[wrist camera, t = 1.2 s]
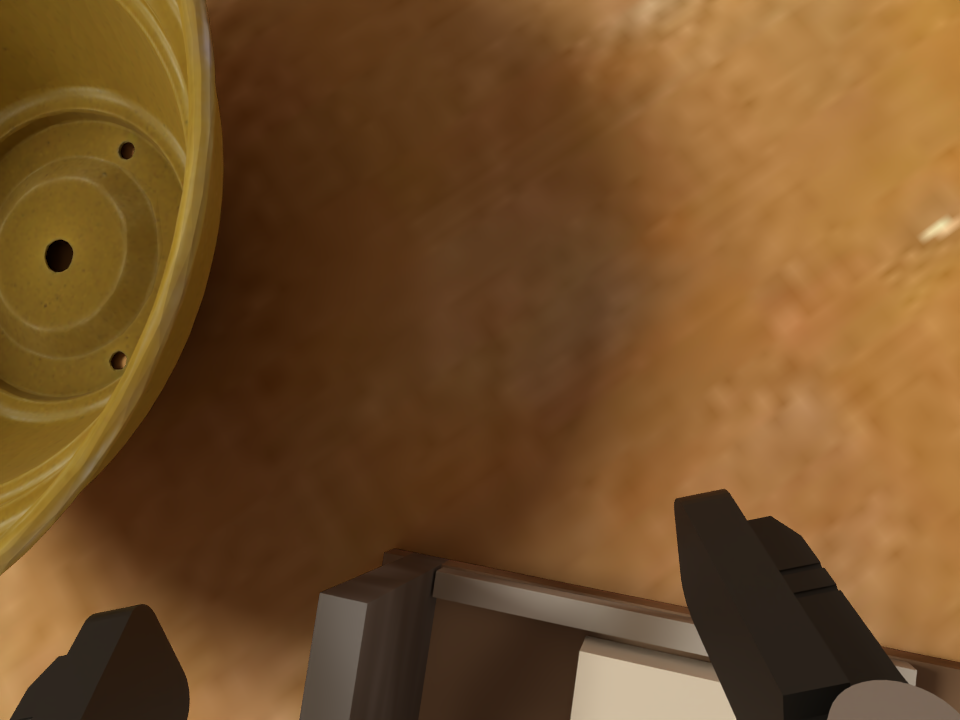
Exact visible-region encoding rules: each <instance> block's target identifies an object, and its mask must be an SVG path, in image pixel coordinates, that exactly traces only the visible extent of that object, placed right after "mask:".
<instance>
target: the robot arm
mask: <svg viewBox="0 0 960 720" xmlns="http://www.w3.org/2000/svg"><path fill="white" fill-rule="evenodd" d="M674 512H675V522H676V533H677V543H678V553H679V563H680V573H681V581H682V586H683V591H684V595H685V599H686V603H687V606H688V609H689V612H690V615H691V618H692V620H693V623H694V625H695V627H696V629H697V632H698V634H699V636H700V638H701V641H702V643H703V645H704V647H705V650H706V652H707V654H708V656H709V659H710V661H711V663H712V665H713V668H714V670H715V672H716V674H717V677H718V679H719V681H720V683H721V686H722V688H723V690H724V692H725V695H726V697H727V699H728V701H729V704H730V706H731V708H732V710H733V713H734V715H735V717H736V719H737V720H960V714H959V713H958V712H957V711H956V710H955V709H954V708H953V707H951V706H950V705H949V704H948V703H946V702H945V701H944V700H942V699H940V698H939V697H937V696H936V695H934V694H932V693H930V692H928V691H926V690H924V689H922V688H919V687H916V686H913V685H910V684H909V683H908V682H907V681H906V679H905V678H904V677H903V676H902V675H901V673H900V672H899V670H898V669H897V668H896V666H895V665H894V664H893V662H892V661H891V659H890V658H889V657H888V655H887V654H886V652H885V651H884V650H883V648H882V647H881V646H880V644H879V643H878V641H877V640H876V639H875V637H874V636H873V634H872V633H871V632H870V630H869V629H868V628H867V626H866V625H865V623H864V622H863V621H862V619H861V618H860V616H859V615H858V614H857V612H856V611H855V610H854V608H853V607H852V605H851V604H850V603H849V601H848V600H847V598H846V597H845V596H844V594H843V593H842V592H841V590H838V589H837V586H836V583H835V582H834V580H833V579H832V578H831V576H830V575H829V574H828V572H827V571H826V569H825V568H822V567H821V564H820V561H819V560H818V558H817V557H816V556H815V554H814V553H813V551H812V550H811V549H810V547H809V546H808V544H807V543H806V542H805V540H804V539H803V538H802V536H801V535H799V534H798V533H796V532H795V531H793V530H792V529H790V528H788V527H787V526H785V525H784V524H782V523H781V522H779V521H778V520H776V519H775V518H773V517H772V516H768V517H763V518H758V519H753V520H748V521H747V520H746V518H745V516H744V515H743V513H742V512H741V510H740V509H739V507H738V506H737V504H736V502H735V501H734V499H733V498H732V496H731V495H730V493H729V492H728V491H727V490H725V489H721V490H716V491H711V492H706V493H701V494H696V495H691V496H686V497H681V498H676V499H675V502H674ZM189 700H190V698H189V687H188V682H187V678H186V676H185V673H184V671H183V669H182V667H181V665H180V663H179V661H178V659H177V657H176V655H175V653H174V651H173V649H172V647H171V645H170V643H169V641H168V639H167V637H166V635H165V633H164V631H163V629H162V627H161V625H160V623H159V621H158V619H157V617H156V615H155V613H154V612H153V610H152V609H151V608H150V607H149V606H147V605H145V604H141V605H136V606H131V607H126V608H121V609H116V610H111V611H106V612H101V613H96V614H93V615H91V616H90V617H89V618H88V619H87V620H86V621H85V623H84V624H83V626H82V628H81V630H80V632H79V634H78V635H77V637H76V639H75V641H74V643H73V645H72V646H71V648H70V650H69V652H68V654H67V655H64V656H59V657H58V658H57V659H56V660H55V661H54V662H53V663H52V664H51V665H50V666H49V667H48V668H47V669H46V670H45V671H44V672H43V673H42V674H41V675H40V676H39V677H38V678H37V679H36V680H35V681H34V682H33V683H32V685H31V686H30V687H29V688H28V689H27V691H26V693H25V694H24V696H23V698H22V699H21V701H20V703H19V705H18V706H17V708H16V710H15V712H14V713H13V715H12V717H11V718H10V720H187V717H188V712H189Z"/></svg>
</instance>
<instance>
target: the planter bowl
mask: <svg viewBox="0 0 960 720" xmlns="http://www.w3.org/2000/svg"><path fill="white" fill-rule="evenodd" d="M127 142H130V143H132V144H133V145H134V148H135V151H134V154H133V156H132V157H131V158H130V159H123V158H122V156H121V148H122V146H123V145H124V144H125V143H127ZM223 172H224V165H223V136H222V127H221V119H220V111H219V104H218V97H217V91H216V85H215V65H214V53H213V45H212V36H211V28H210V21H209V15H208V10H207V5H206V0H0V575H1V574H3V573H4V572H5V571H6V570H7V569H8V568H10V567H11V566H12V565H13V564H14V563H15V562H16V561H17V560H19V559H20V558H21V557H22V556H23V555H24V554H25V553H26V552H27V551H28V550H29V549H30V548H31V547H32V546H33V545H34V544H35V543H36V542H37V541H38V540H39V539H40V538H41V537H42V536H43V535H44V534H45V533H46V532H47V531H48V529H49V528H50V527H51V526H52V525H53V524H54V523H55V522H56V520H57V519H58V518H59V517H60V516H61V515H62V514H63V512H64V511H65V510H66V509H67V508H68V507H69V505H70V504H71V503H72V502H73V501H74V500H75V498H76V497H77V496H78V495H79V493H80V492H81V491H82V490H83V489H84V488H85V487H86V486H87V485H88V484H89V483H90V482H91V481H92V480H93V479H94V478H95V477H97V476H98V474H99V473H100V472H101V471H102V470H103V469H104V468H105V467H106V466H107V465H108V464H109V463H110V462H111V461H112V459H113V458H114V457H115V456H116V455H117V454H118V452H119V451H120V450H121V449H122V447H123V446H124V445H125V444H126V443H127V441H128V440H129V438H130V437H131V436H132V434H133V433H134V432H135V430H136V429H137V428H138V426H139V425H140V424H141V422H142V421H143V420H144V418H145V417H146V415H147V414H148V412H149V410H150V409H151V407H152V406H153V404H154V402H155V401H156V399H157V397H158V396H159V394H160V393H161V391H162V389H163V388H164V386H165V384H166V382H167V380H168V378H169V377H170V375H171V373H172V371H173V369H174V367H175V366H176V364H177V361H178V359H179V357H180V355H181V353H182V350H183V348H184V346H185V344H186V342H187V340H188V337H189V335H190V332H191V329H192V327H193V324H194V321H195V318H196V315H197V313H198V310H199V307H200V304H201V301H202V299H203V295H204V292H205V288H206V284H207V281H208V277H209V273H210V269H211V264H212V260H213V256H214V251H215V247H216V242H217V236H218V230H219V224H220V215H221V205H222V193H223ZM60 239H62V240H64V241H67V242H68V243H69V244H70V246H71V247H72V249H73V258H72V262H71V264H70V266H69V267H68V269H66V270H64V271H63V272H54V271H53V270H51V269H50V267H49V266H48V264H47V261H46V252H47V250H48V247H49V245H51V244H52V243H53V242H54V241H57V240H60ZM117 352H122V353H124V354H125V356H126V357H127V360H126V365H125V367H124V368H123V369H119V370H116V369H114V368H113V367H112V366H111V359H112V358H113V356H114V354H115V353H117Z"/></svg>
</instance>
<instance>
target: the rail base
mask: <svg viewBox="0 0 960 720" xmlns="http://www.w3.org/2000/svg"><path fill="white" fill-rule="evenodd" d="M586 636H590V637H595V638H599V639H604V640H609V641H613V642H618V643H622V644H627V645H631V646H636V647H641V648H645V649H650V650H654V651H659V652H664V653H668V654H673V655H677V656H682V657H687V658H691V659H696V660H700V661H705V662H709V663H711V661H710V659H709V656H708V654H707V652H706V650H705V647H704V645H703V643H702V641H701V638H700V636H699V634H698V632H697V629H696V627H695V625H694V623H693V620H692V618H691V615H690V612H689V609H688V608H687V607H682V606H677V605H672V604H667V603H662V602H657V601H652V600H647V599H642V598H637V597H632V596H627V595H623V594H618V593H613V592H608V591H603V590H598V589H593V588H588V587H583V586H578V585H573V584H568V583H563V582H558V581H553V580H548V579H543V578H538V577H533V576H528V575H523V574H518V573H513V572H509V571H504V570H499V569H494V568H489V567H484V566H479V565H474V564H469V563H464V562H459V561H454V560H449V559H444V558H439V557H434V556H429V555H424V554H419V553H414V552H409V551H404V550H399V549H392V550H389V551H387V552H384V557H383V564H382V566H381V567H379V568H377V569H374V570H372V571H370V572H367V573H365V574H363V575H360V576H358V577H356V578H353V579H351V580H349V581H346V582H344V583H342V584H339V585H337V586H335V587H332V588H330V589H328V590H325V591H323V592H321V593H320V595H319V601H318V607H317V614H316V620H315V626H314V632H313V639H312V645H311V651H310V657H309V663H308V670H307V676H306V682H305V688H304V694H303V701H302V707H301V713H300V719H299V720H570V718H571V710H572V703H573V696H574V688H575V681H576V674H577V666H578V659H579V652H580V649H581V647H582V644H583V642H584V640H585V637H586ZM882 648H883V650H884V651H885V652H886V654H887V655H888V657H889V658H890V659H891V661H892V662H893V664H894V665H895V666H896V668H897V669H898V670H899V672H900V673H901V675H902V676H903V677H904V678H905V679H906V681H907V682H908V683H909V684H910V685H913V686H916V687H919V688H922V689H924V690H926V691H928V692H930V693H932V694H934V695H936V696H937V697H939V698H940V699H942V700H944V701H945V702H946V703H948V704H949V705H950V706H951V707H953V708H954V709H955V710H956V711H957V712H958V713H959V714H960V662H955V661H950V660H945V659H940V658H935V657H930V656H925V655H920V654H915V653H910V652H905V651H900V650H895V649H890V648H885V647H882Z"/></svg>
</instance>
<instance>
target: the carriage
mask: <svg viewBox="0 0 960 720" xmlns="http://www.w3.org/2000/svg"><path fill="white" fill-rule="evenodd" d="M570 720H737V719H736V717H735V715H734V713H733V710H732V708H731V706H730V704H729V701H728V699H727V697H726V695H725V692H724V690H723V688H722V686H721V683H720V681H719V679H718V677H717V674H716V672H715V670H714V668H713V665H712V663H709V662H705V661H700V660H696V659H691V658H687V657H682V656H677V655H673V654H668V653H664V652H659V651H654V650H650V649H645V648H641V647H636V646H631V645H627V644H622V643H618V642H613V641H609V640H604V639H599V638H595V637H590V636H586V637H585V640H584V642H583V644H582V647H581V649H580V652H579V659H578V666H577V674H576V681H575V688H574V696H573V703H572V710H571V718H570Z"/></svg>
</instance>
